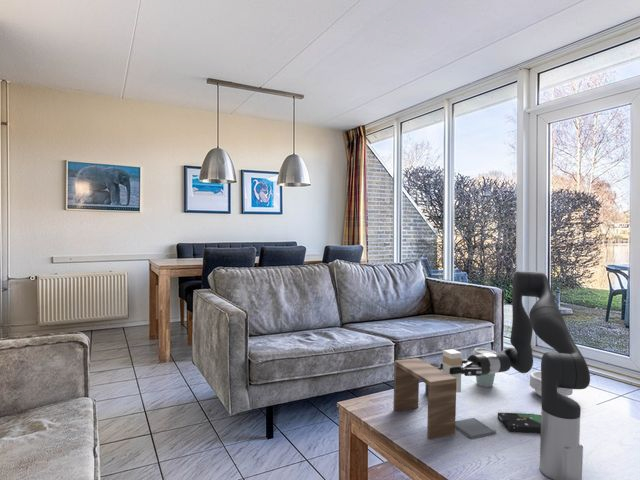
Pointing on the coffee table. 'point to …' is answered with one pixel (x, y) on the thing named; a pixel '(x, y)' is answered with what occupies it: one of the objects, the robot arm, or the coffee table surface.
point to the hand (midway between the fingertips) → (445, 368)
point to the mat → (473, 428)
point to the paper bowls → (536, 384)
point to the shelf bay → (438, 394)
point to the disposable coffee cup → (484, 379)
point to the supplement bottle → (427, 384)
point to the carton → (452, 365)
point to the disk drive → (521, 422)
